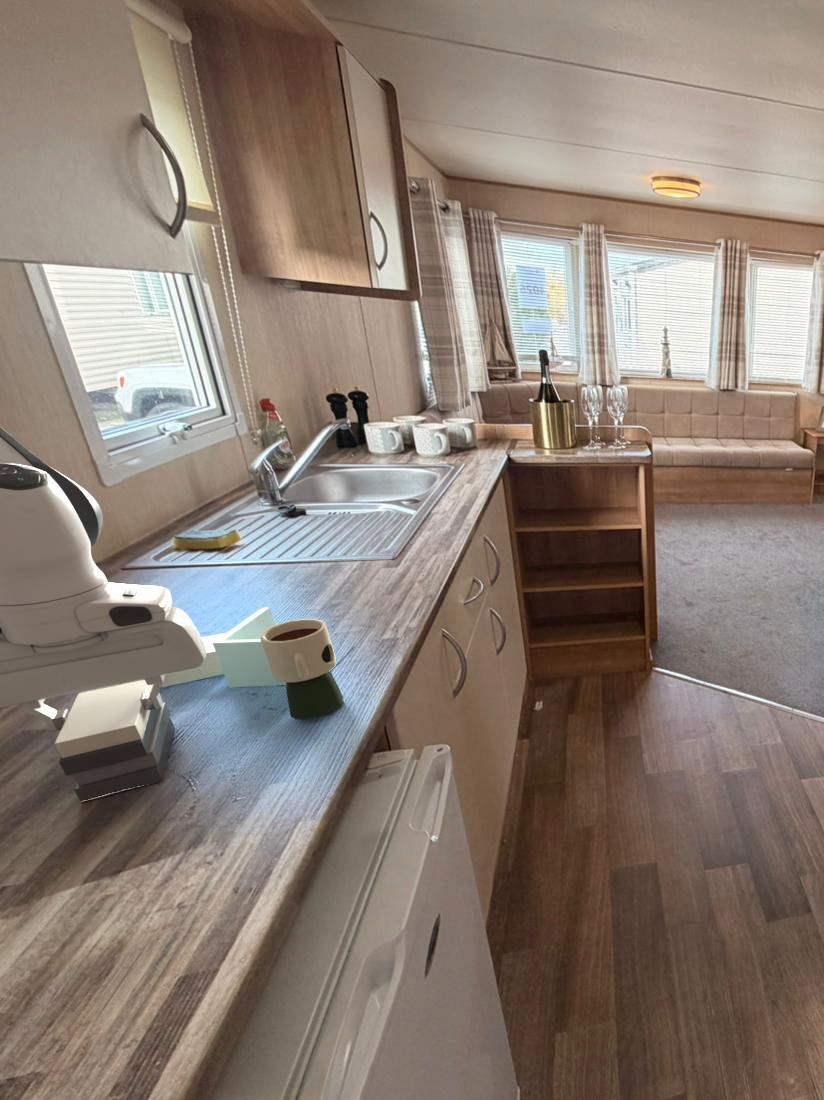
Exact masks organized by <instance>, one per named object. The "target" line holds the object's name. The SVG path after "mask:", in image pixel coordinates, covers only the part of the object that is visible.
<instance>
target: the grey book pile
mask: <svg viewBox="0 0 824 1100" xmlns="http://www.w3.org/2000/svg"><path fill="white" fill-rule="evenodd" d="M175 728H176V727H175V724H174V723H173V720H172V718H171V713H170V710H169V708H168V706H167V703H166V702H165V701H164V702H163V704H162V707H161V708H156V709H152V710H150V712H149V715H148V719H147V722H146V726H145V729H144V733H143V736H142V739H140V740H136V741H132V742H128V743H124V744H120V745H115V746H111V747H107V748H103V749H99V750H95V751H91V752H86V753H82V754H78V755H74V756H70V757H66V758H62V757H61V756H60V758H59V760H58V763H59V765H60V767H61V769H62V770H63V773H64V775H65V776H73V778H74V779H75V781H76V784H75V787H74V792H75V794H76V796H77V798H78V799H79V801H80V802H81V801H83V800H88V799H91V798H95V797H98V796H102V795H105V794H108V793H112V792H117V791H121V790H123V789H128V788H133V787H137V786H142V785H147V784H151V785H153V784H152V783H154V784H156V783H155V782H158V783H161V782H163V781H164V777H165V773H166V770H167V769H166V768H167V764H168V759H169V755H170V750H171V745H172V741H173V738H174V737H173V736H174V732H175ZM147 786H148V785H147Z"/></svg>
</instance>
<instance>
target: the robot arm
mask: <svg viewBox="0 0 824 1100" xmlns="http://www.w3.org/2000/svg"><path fill="white" fill-rule="evenodd" d="M103 518H104V516H103V511H102V508H101V507H100V504H99V503H98V501H97V500H96V499H95V498H94V496H93V495H91V493H89V491H87V490H86V489H85V488H84V487H82V486H81V485H79V484H78V483H77V482H75V481H74V480H72V479H71V478H69V477H68V476H66V475H64V474H63V473H61V472H60V471H58V470H57V469H54V468H53V467H52V466H50V465H49V464H47V463H46V462H45V461H43V460H42V459H40V458H39V457H38V456H37V455H35V454H34V453H33V452H32V451H31V450H29V449H28V448H27V447H26V446H25V445H23V444H22V443H21V442H20V441H18V440H17V439H16V438H15V437H14V436H13V435H11V434H10V433H9V432H8V431H7V430H6V429H4V428H3V427H2V426H0V709H2V708H7V707H12V706H17V705H19V706H20V708H21V710H22V711H23V712H24V713H26V714H28V715H30V716H32V717H35V718H37V719H39V720H41V721H44V722H45V723H46V725H47V727H48V728H49V730H50V732H52V733H54V732H57V731H61V729H62V727H63V725H64V723H65V721H66V719H67V717H68V715H69V712H70V711H69V710H68V709H61V710H57V709H55V708H53V707H51V706H49V705H47V704H45V703H44V702H45V701H46V699H51V698H56V697H61V696H65V695H71V694H76V693H82V692H87V691H92V690H97V689H102V688H106V687H111V686H116V685H118V684H120V683H125V682H130V681H135V680H140V679H145V681H146V684H147V685H152V684H153V683H154V684H153V687H152V689H151V691H150V692H145V693H142V695H141V698H140V702H141V704H142V705H144V709H145V711H147V710H152V709H156V708H161V707H162V704H163V703H164V702H163V701H164V700H163V698H162V695H161V693H160V691H161V689H162V688H161V686H162V684H163V681H164V677H165V674H170V673H175V672H180V671H184V670H189V669H194V668H198V667H200V666H201V664H202V663H203V662H204V660H205V658H206V647H205V644H204V642H203V640H202V636H201V633H200V632H199V630H198V628H197V626H196V624H195V623H194V622H193V620H192V619H191V617H190V616H189V615H188V614H187V613H186V612H185V611H184V610H183V609H181V608H179V607H176V606H173V598H172V594H171V591H170V589H168V588H167V587H165V586H160V585H145V584H143V585H142V584H128V583H117V582H108V579H107V577H106V575H105V574H104V572H103V571H102V570H101V569H100V568H99V567H98V566H97V565H96V563H95V561H94V560H93V557H92V548H93V547H94V546H95V544H96V543H97V541H98V539H99V537H100V535H101V532H102V528H103V521H104V519H103Z"/></svg>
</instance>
